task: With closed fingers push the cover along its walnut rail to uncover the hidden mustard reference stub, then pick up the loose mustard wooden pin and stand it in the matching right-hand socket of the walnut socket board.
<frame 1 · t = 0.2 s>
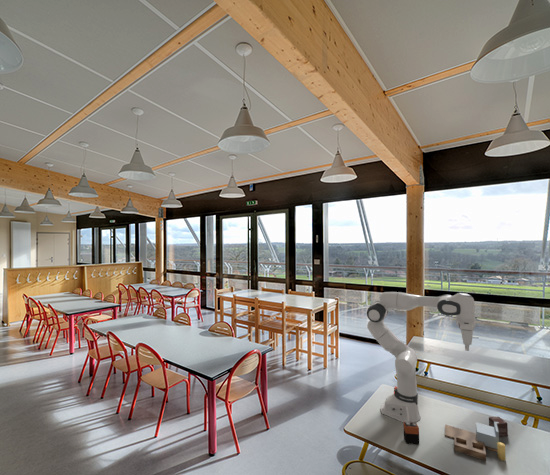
hand: (466, 347, 157), 47 cm above the table, fingers open, 8 cm apart
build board: (469, 449, 144), on the table
cover: (486, 432, 149), point 6 cm above the table, slide at 0.0 cm
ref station: (487, 443, 148), on the table
battery: (411, 442, 151), on the table
box: (498, 433, 156), on the table
pin: (501, 458, 138), on the table
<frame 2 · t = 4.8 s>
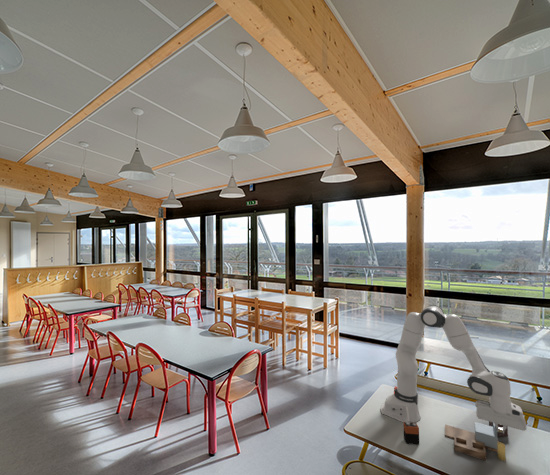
hand: (500, 431, 145), 8 cm above the table, fingers closed
cover: (485, 432, 149), point 6 cm above the table, slide at 0.5 cm, touching gripper
everything else where it was.
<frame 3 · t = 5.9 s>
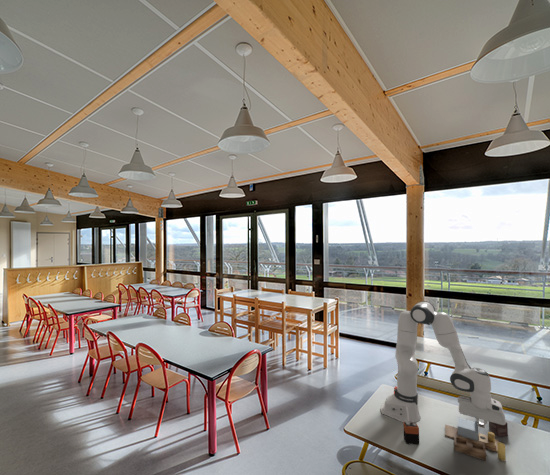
hand: (481, 426, 150), 8 cm above the table, fingers closed
cover: (467, 427, 153), point 6 cm above the table, slide at 8.5 cm, touching gripper
everything else where it was.
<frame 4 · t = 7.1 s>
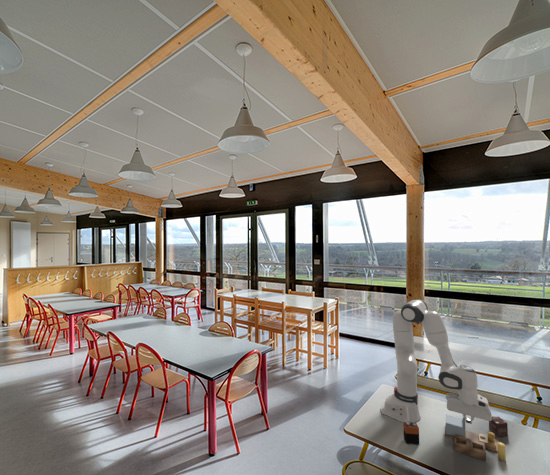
hand: (468, 422, 153), 8 cm above the table, fingers closed
cover: (455, 423, 156), point 6 cm above the table, slide at 14.0 cm, touching gripper
everything else where it was.
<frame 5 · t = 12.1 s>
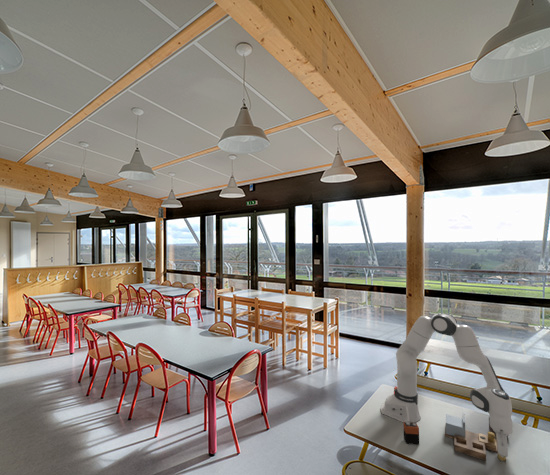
hand: (501, 453, 138), 3 cm above the table, fingers closed on pin, 3 cm apart
cover: (455, 423, 156), point 6 cm above the table, slide at 14.0 cm
pin: (501, 458, 138), on the table, touching gripper
everything else where it was.
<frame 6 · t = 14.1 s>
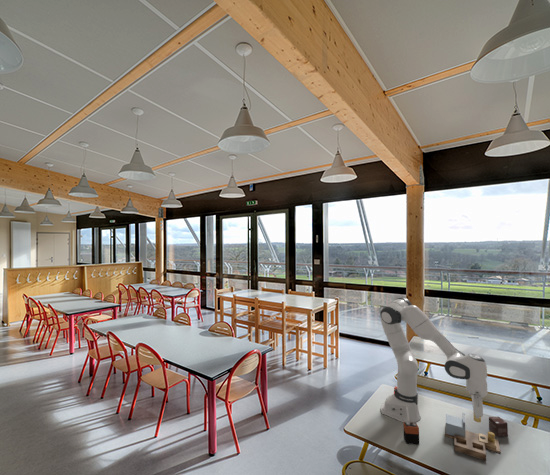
hand: (477, 415, 143), 19 cm above the table, fingers closed on pin, 3 cm apart
pin: (477, 420, 143), point 16 cm above the table, touching gripper
everything else where it was.
when the fingers open (4 cm above the table, at t = 16.3 s): pin stays where it is, resting on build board.
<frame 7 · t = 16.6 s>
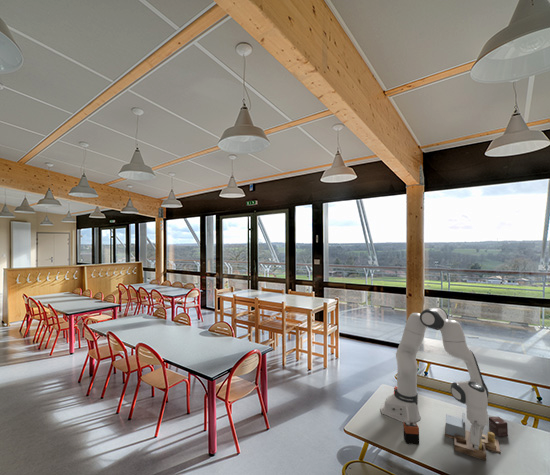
hand: (477, 444, 143), 4 cm above the table, fingers open, 6 cm apart
pin: (478, 450, 142), point 1 cm above the table, touching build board
everything else where it was.
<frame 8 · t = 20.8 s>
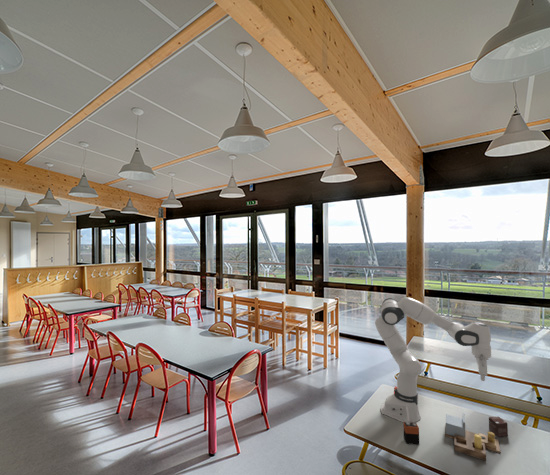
hand: (481, 376, 157), 31 cm above the table, fingers open, 8 cm apart
nothing on the table moved.
at the end: cover slide at 14.0 cm; pin 0.1 cm from the target spot on the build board, point 1.0 cm above the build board's base; pin tilted 0° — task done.
